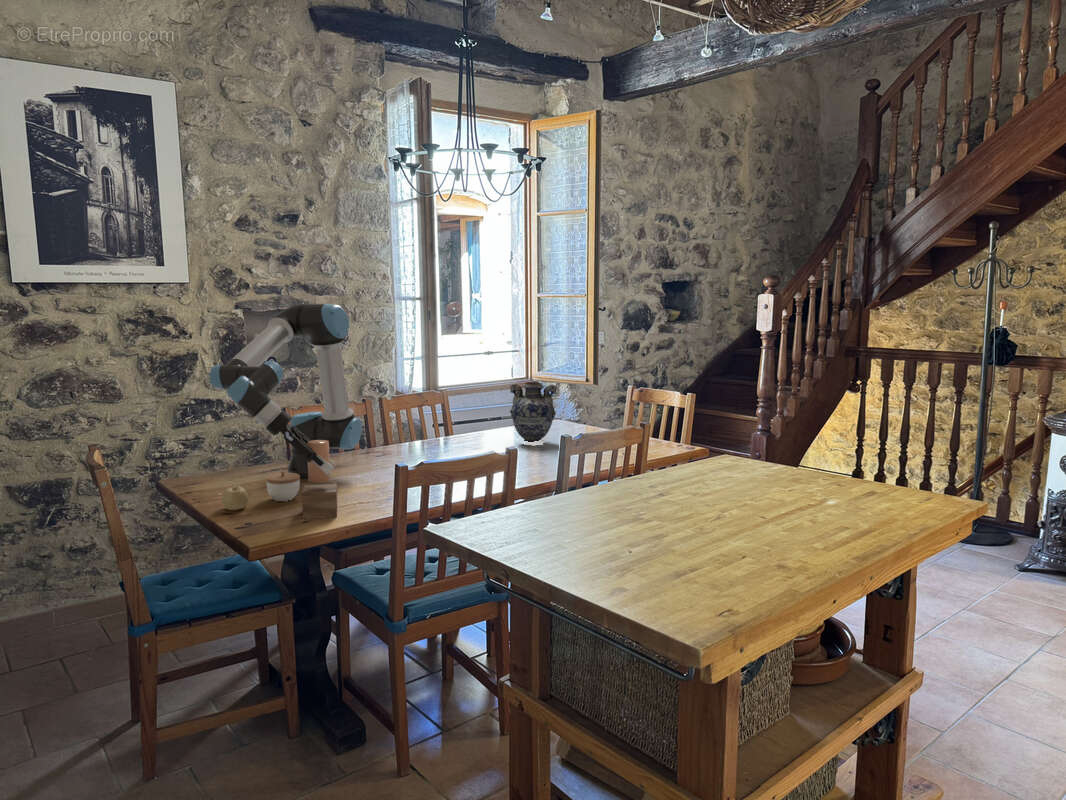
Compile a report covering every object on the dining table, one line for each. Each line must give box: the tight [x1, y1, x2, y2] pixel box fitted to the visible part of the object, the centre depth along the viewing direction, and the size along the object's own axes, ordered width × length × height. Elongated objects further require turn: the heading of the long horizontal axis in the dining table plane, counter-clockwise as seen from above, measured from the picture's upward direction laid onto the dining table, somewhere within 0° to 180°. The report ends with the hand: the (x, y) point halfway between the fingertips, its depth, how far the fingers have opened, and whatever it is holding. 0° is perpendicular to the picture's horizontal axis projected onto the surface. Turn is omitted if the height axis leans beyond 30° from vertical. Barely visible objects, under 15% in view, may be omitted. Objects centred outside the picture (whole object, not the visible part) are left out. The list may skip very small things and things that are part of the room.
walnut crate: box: [301, 483, 339, 520], centre depth 234 cm, size 10×10×8 cm
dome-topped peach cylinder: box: [307, 440, 331, 484], centre depth 232 cm, size 6×6×12 cm
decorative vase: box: [509, 381, 558, 442], centre depth 340 cm, size 21×19×28 cm
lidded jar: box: [265, 470, 301, 502], centre depth 249 cm, size 11×11×9 cm
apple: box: [221, 485, 249, 511], centre depth 238 cm, size 8×8×8 cm
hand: (330, 468), depth 233 cm, fingers closed on dome-topped peach cylinder, 6 cm apart
